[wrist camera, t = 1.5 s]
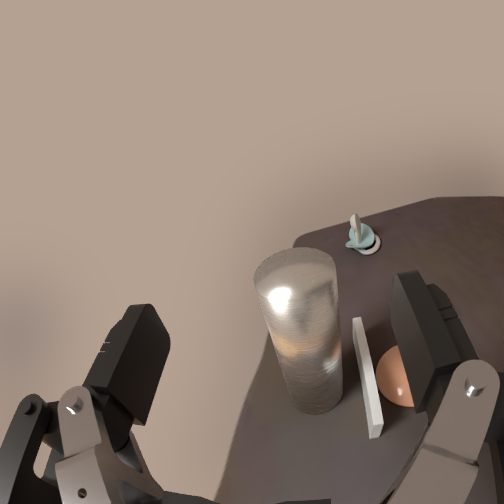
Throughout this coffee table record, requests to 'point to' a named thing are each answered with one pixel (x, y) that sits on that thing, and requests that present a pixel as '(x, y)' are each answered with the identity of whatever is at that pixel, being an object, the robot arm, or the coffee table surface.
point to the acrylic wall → (367, 380)
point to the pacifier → (362, 237)
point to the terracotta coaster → (393, 378)
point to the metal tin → (304, 324)
